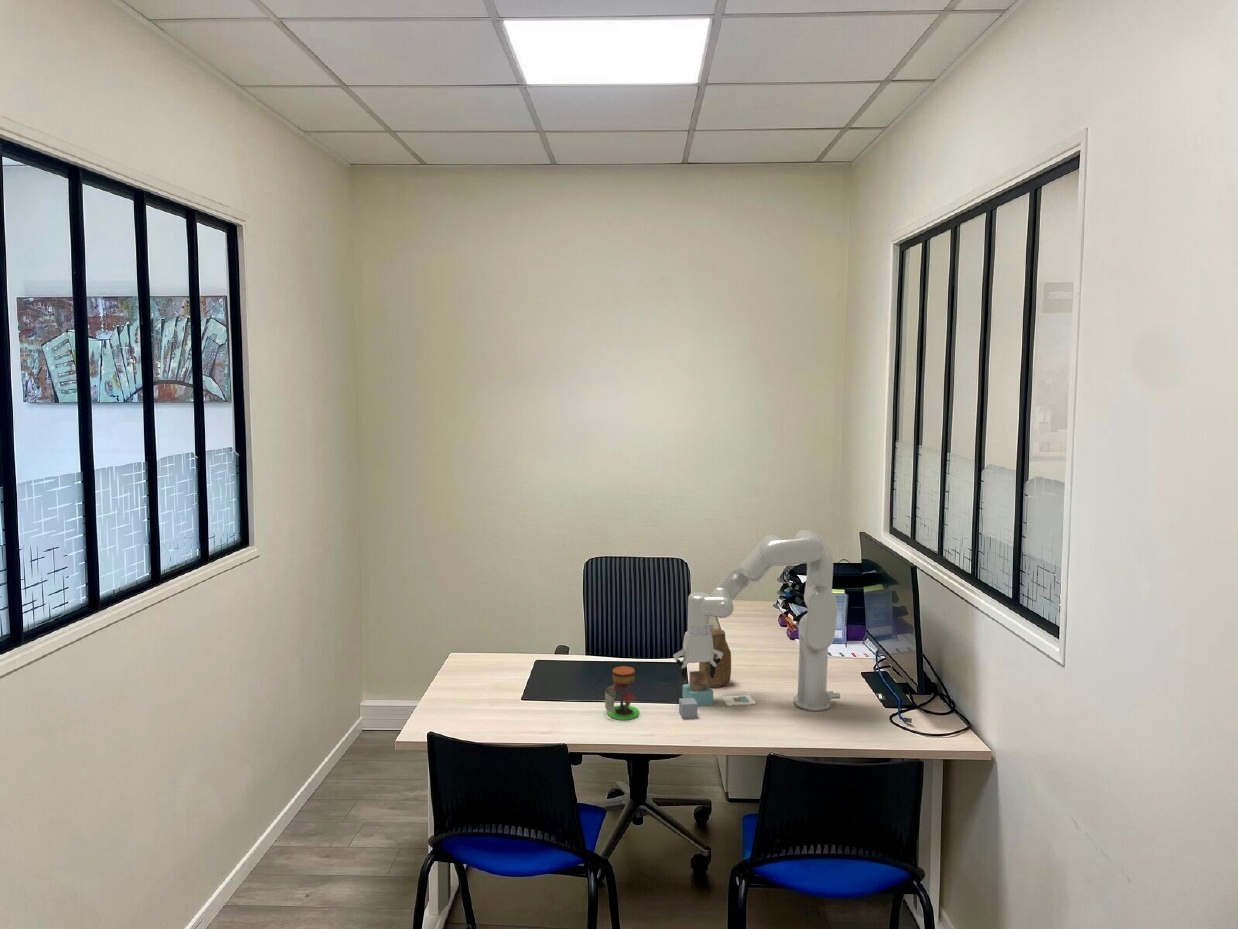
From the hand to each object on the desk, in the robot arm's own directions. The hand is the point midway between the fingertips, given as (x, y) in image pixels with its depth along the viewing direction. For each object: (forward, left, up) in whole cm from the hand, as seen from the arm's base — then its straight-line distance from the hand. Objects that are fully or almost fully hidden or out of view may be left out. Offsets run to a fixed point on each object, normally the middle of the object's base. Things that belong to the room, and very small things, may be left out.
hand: (697, 677), depth 284 cm
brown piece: (-10, -14, -9) cm, 19 cm away
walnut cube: (0, 0, -4) cm, 4 cm away
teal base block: (0, 0, -9) cm, 9 cm away
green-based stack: (+27, +6, -9) cm, 29 cm away
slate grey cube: (+6, +11, -8) cm, 15 cm away
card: (-14, +2, -8) cm, 16 cm away
